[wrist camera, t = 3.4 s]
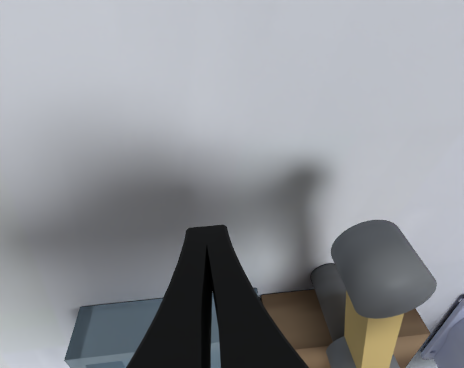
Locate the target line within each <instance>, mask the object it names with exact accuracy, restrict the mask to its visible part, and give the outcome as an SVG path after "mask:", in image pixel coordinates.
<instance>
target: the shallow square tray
mask: <svg viewBox="0 0 464 368" xmlns="http://www.w3.org/2000/svg"><path fill="white" fill-rule="evenodd" d="M254 291H255V292H256V294H257V296H258V293H257V288H255V289H254ZM162 300H163V298H162V299H152V300H143V301H134V302H124V303H115V304H106V305H96V306H87V307H80V310H79V313H78V317H77V320H76V323H75V327H74V330H73V333H72V337H71V340H70V343H69V347H68V350H67V353H66V357H65V360H64V361H65V362H66V363H67V364H68V365H69V367H70V368H126V367H127V365H128V363H129V362H130V360H131V358H132V357H133V355H134V353H135V352H136V350H137V348H138V346H139V345H140V343H141V341H142V339H143V338H144V336H145V334H146V332H147V330H148V328H149V327H150V325H151V323H152V321H153V319H154V317H155V315H156V313H157V311H158V309H159V307H160V304H161V302H162ZM211 368H221V361H220V345H219V329H218V323H217V316H216V310H215V303H214V297H213V293H212V325H211Z"/></svg>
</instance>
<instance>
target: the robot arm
mask: <svg viewBox="0 0 464 368" xmlns="http://www.w3.org/2000/svg"><path fill="white" fill-rule="evenodd" d="M212 291H213V297H214V303H215V310H216V316H217V323H218V329H219V345H220V361H221V368H309V367H308V366H307V364H306V363H305V362H304V361H303V359H302V358H301V357H300V356H299V354H298V353H297V352H296V350H295V349H294V348H293V347H292V345H291V344H290V343H289V342H288V340H287V339H286V338H285V336H284V335H283V333H282V332H281V331H280V329H279V328H278V326H277V325H276V324H275V322H274V321H273V319H272V318H271V316H270V315H269V313H268V312H267V310H266V309H265V307H264V305H263V304H262V302H261V301H260V299H259V297H258V296H257V294H256V292H255V291H254V289H253V287H252V285H251V284H250V282H249V280H248V278H247V276H246V274H245V272H244V270H243V268H242V266H241V264H240V262H239V260H238V258H237V256H236V253H235V251H234V248H233V246H232V243H231V241H230V238H229V234H228V230H227V227H226V226H225V225H215V226H205V227H194V228H188V229H187V230H186V235H185V239H184V244H183V247H182V251H181V254H180V257H179V260H178V263H177V266H176V268H175V271H174V274H173V276H172V279H171V282H170V284H169V286H168V289H167V291H166V293H165V295H164V298H163V300H162V302H161V304H160V307H159V309H158V311H157V313H156V315H155V317H154V319H153V321H152V323H151V325H150V327H149V328H148V330H147V332H146V334H145V336H144V338H143V339H142V341H141V343H140V345H139V346H138V348H137V350H136V352H135V353H134V355H133V357H132V358H131V360H130V362H129V363H128V365H127V367H126V368H211V325H212ZM421 356H422V358H423V359H434V361H435V362H436V364H437V366H438V368H464V298H463V299H462V300H461V302H460V303H459V304H458V306H457V307H456V308H455V310H454V311H453V312H452V313H451V315H450V316H449V317H448V319H447V320H446V321H445V323H444V324H443V325H442V327H441V328H440V329H439V330H438V332H437V333H436V334H435V336H434V337H433V338H432V340H431V341H430V342H429V344H428V345H427V346H426V347H425V349H424V350H423V351H422V353H421Z"/></svg>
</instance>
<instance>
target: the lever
mask: <svg viewBox="0 0 464 368" xmlns="http://www.w3.org/2000/svg"><path fill="white" fill-rule="evenodd" d="M331 256H332V259H333V261H334V263H335V265H336V268H337V270H338V272H339V275H340V277H341V279H342V281H343V284H344V286H345V288H346V307H345V330H344V336H343V337H341V338H339V339H337V340H335V341H334V342H332V343H331V344H330V345H329V346H328V348H327V350H326V354H327V357H328V360H329V363H330V366H331V368H400V367H399V365H398V363H397V360H396V358H395V356H394V354H393V352H394V348H395V345H396V341H397V337H398V334H399V330H400V327H401V323H402V319H403V316H404V313H406V312H408V311H410V310H412V309H415V308H416V307H418V306H420V305H421V304H423V303H424V302H425V301H427V300H428V299H429V298H430V297H431V296H432V294H433V293H434V291H435V289H436V284H437V283H436V280H435V278H434V277H433V276H432V274H431V273H430V271H429V270H428V269H427V267H426V266H425V264H424V263H423V262H422V260H421V259H420V257H419V256H418V254H417V253H416V252H415V250H414V249H413V247H412V246H411V245H410V243H409V242H408V240H407V239H406V238H405V236H404V235H403V233H402V232H401V231H400V229H399V228H398V226H397V225H395V224H394V223H392V222H390V221H386V220H371V221H366V222H362V223H359V224H357V225H354V226H352V227H351V228H349V229H347V230H346V231H344V232H343V233H342V234H341V235H340V236H339V237H338V238H337V239H336V240H335V241H334V243H333V245H332V248H331Z"/></svg>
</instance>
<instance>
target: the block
mask: <svg viewBox="0 0 464 368" xmlns="http://www.w3.org/2000/svg"><path fill="white" fill-rule="evenodd" d="M311 281H312V283H313V286H314V289H313V290H304V291H295V292H285V293H276V294H267V295H261V302H262V304H263V305H264V307H265V309H266V310H267V312H268V313H269V315H270V316H271V318H272V319H273V321H274V322H275V324H276V325H277V326H278V328H279V329H280V331H281V332H282V333H283V335H284V336H285V338H286V339H287V340H288V342H289V343H290V344H291V345H292V347H293V348H294V349H295V350H296V352H297V353H298V354H299V356H300V357H301V358H302V359H303V361H304V362H305V363H306V364H307V366H308V367H309V368H331V366H330V363H329V360H328V357H327V354H326V350H327V348H328V346H329V345H330V344H331V343H332V342H334V341H335V340H337V339H339V338H341V337H343V336H344V330H345V307H346V288H345V286H344V284H343V281H342V279H341V277H340V275H339V272H338V270H337V268H336V265H335V264H326V265H323V266H320V267H318V268H317V269H315V270H314V271H313V272H312V274H311ZM429 335H430V332H429V330H428V329H427V327H426V325H425V324H424V322H423V320H422V319H421V317H420V315H419V314H418V312H417V310H416V309H412V310H410V311H408V312H406V313H404V316H403V319H402V323H401V327H400V330H399V334H398V337H397V341H396V345H395V348H394V352H393V354H394V356H395V358H396V360H397V363H398V365H399V367H400V368H405V367H406V366H407V365H408V363H409V362H410V361H411V359H412V358H413V356H414V355H415V354H416V352H417V351H418V350H419V348H420V347H421V346H422V344H423V343H424V342H425V340H426V339H427V338H428V336H429Z"/></svg>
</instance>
